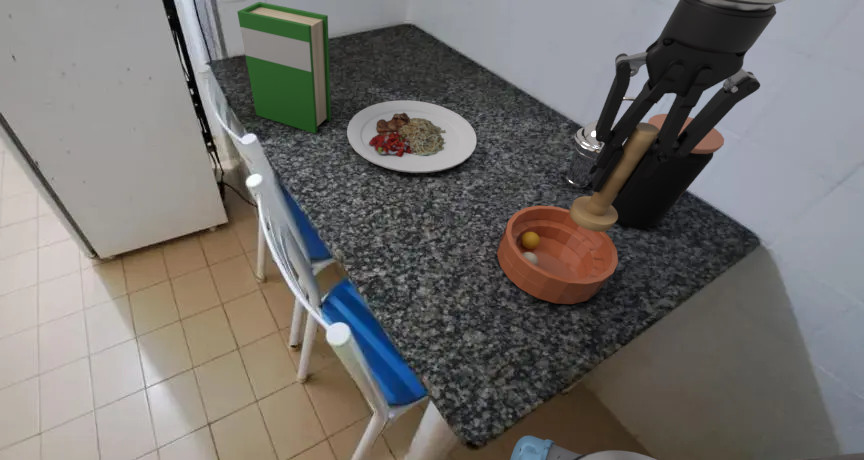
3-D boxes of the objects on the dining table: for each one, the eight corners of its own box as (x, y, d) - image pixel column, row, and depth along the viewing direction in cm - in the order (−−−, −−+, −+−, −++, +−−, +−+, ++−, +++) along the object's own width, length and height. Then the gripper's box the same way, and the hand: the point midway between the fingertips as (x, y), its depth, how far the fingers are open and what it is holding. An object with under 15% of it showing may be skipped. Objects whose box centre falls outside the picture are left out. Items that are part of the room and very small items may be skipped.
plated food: (488, 125, 97) (492, 112, 95) (452, 195, 78) (456, 182, 76) (378, 97, 106) (379, 85, 104) (323, 154, 88) (323, 141, 85)
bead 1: (535, 254, 67) (542, 243, 65) (517, 249, 68) (523, 238, 66) (537, 242, 69) (543, 231, 67) (519, 237, 70) (525, 226, 68)
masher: (614, 236, 55) (680, 146, 44) (568, 225, 56) (621, 135, 45) (611, 209, 59) (671, 120, 48) (569, 199, 60) (618, 110, 49)
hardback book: (331, 119, 98) (327, 15, 81) (315, 133, 93) (308, 26, 76) (273, 102, 104) (259, 1, 86) (256, 115, 99) (237, 11, 82)
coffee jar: (667, 234, 72) (738, 152, 59) (606, 227, 73) (663, 145, 60) (646, 196, 79) (706, 116, 66) (591, 190, 80) (639, 110, 67)
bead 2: (533, 276, 64) (540, 264, 62) (515, 270, 65) (520, 259, 62) (535, 263, 66) (541, 251, 64) (516, 257, 67) (522, 246, 64)
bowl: (601, 320, 59) (621, 298, 55) (490, 286, 63) (500, 263, 59) (597, 244, 70) (614, 220, 65) (502, 219, 74) (512, 195, 69)
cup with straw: (573, 164, 86) (619, 76, 72) (609, 187, 81) (667, 97, 66) (546, 176, 83) (588, 86, 69) (582, 201, 78) (635, 109, 63)
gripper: (818, -5, 37) (668, 186, 54) (634, -23, 41) (549, 160, 58) (854, 22, 32) (678, 222, 49) (642, -2, 36) (547, 191, 53)
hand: (608, 188), depth 53 cm, fingers closed on masher, 3 cm apart
